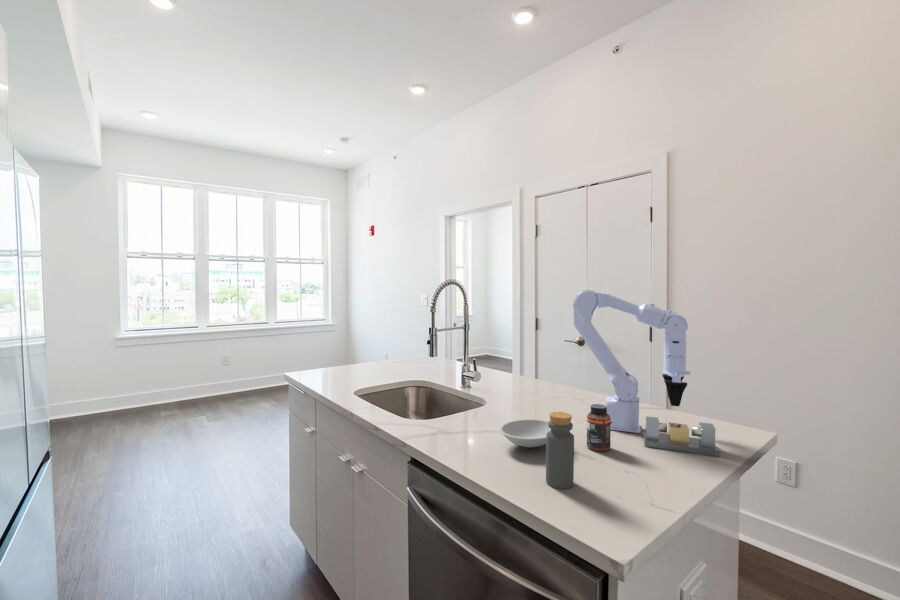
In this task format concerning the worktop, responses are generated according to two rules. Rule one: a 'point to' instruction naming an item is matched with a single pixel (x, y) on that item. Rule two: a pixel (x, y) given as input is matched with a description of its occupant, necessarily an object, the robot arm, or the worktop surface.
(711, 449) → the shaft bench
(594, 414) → the supplement bottle
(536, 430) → the dish
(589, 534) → the worktop surface
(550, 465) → the bottle
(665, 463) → the worktop surface
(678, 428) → the block
